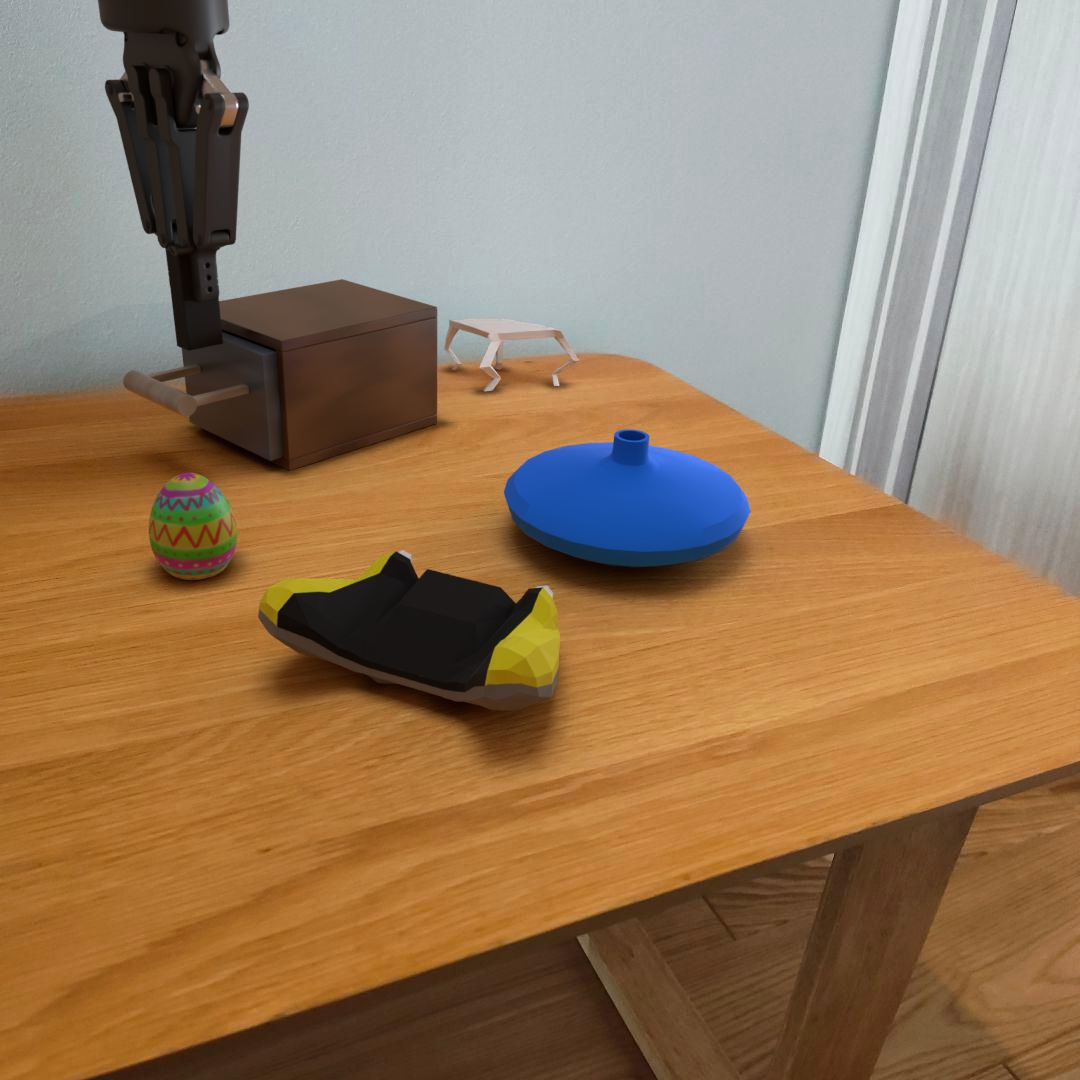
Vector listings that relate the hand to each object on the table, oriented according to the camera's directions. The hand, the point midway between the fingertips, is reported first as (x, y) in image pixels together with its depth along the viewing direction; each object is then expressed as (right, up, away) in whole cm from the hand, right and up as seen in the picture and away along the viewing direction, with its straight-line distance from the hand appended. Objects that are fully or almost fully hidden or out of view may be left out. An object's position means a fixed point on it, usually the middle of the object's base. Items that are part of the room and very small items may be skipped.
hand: (200, 344), depth 74 cm
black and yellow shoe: (+18, -21, -20) cm, 34 cm away
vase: (+29, -14, -5) cm, 33 cm away
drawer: (+3, -5, +7) cm, 9 cm away
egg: (+3, -15, -11) cm, 19 cm away
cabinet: (+6, -4, +11) cm, 13 cm away
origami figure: (+21, +1, +23) cm, 31 cm away
